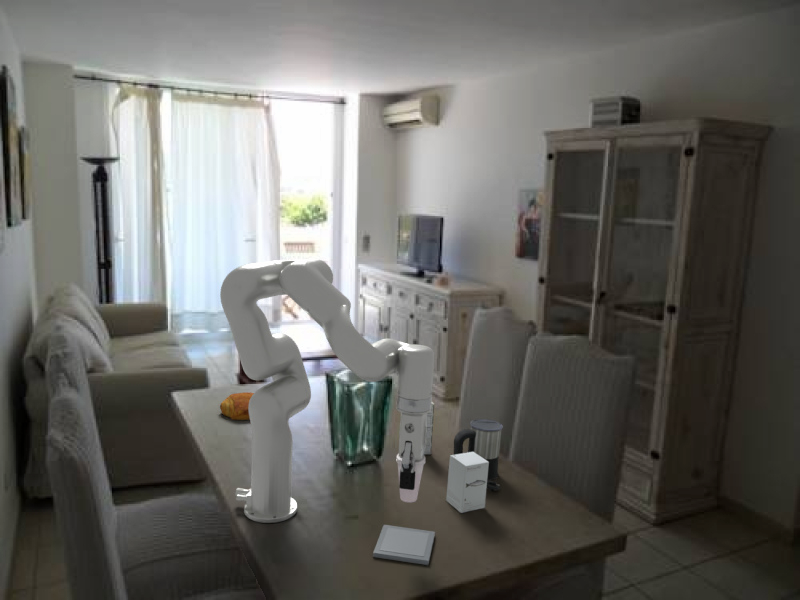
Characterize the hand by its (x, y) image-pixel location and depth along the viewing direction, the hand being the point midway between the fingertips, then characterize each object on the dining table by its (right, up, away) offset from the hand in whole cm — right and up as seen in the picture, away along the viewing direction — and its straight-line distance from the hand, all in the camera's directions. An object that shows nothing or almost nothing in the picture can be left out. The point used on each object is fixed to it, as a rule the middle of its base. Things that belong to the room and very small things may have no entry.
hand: (409, 480), depth 139 cm
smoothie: (0, -4, +1) cm, 4 cm away
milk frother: (+21, -11, +38) cm, 45 cm away
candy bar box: (+3, -7, +57) cm, 57 cm away
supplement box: (+15, -13, +23) cm, 30 cm away
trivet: (-1, -15, +3) cm, 16 cm away
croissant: (-55, 0, +78) cm, 96 cm away
